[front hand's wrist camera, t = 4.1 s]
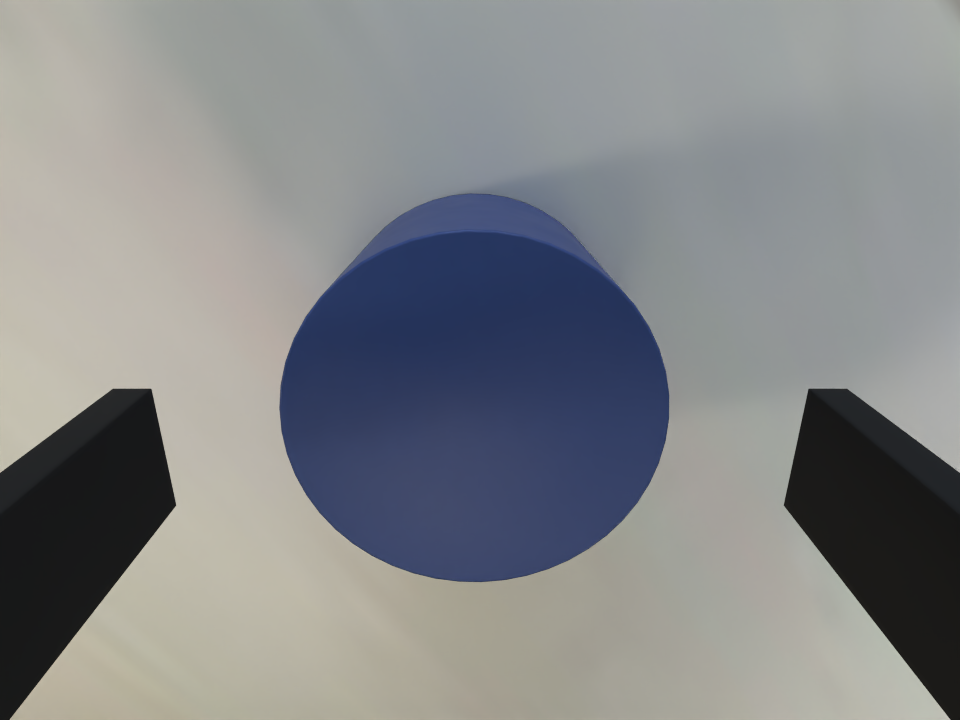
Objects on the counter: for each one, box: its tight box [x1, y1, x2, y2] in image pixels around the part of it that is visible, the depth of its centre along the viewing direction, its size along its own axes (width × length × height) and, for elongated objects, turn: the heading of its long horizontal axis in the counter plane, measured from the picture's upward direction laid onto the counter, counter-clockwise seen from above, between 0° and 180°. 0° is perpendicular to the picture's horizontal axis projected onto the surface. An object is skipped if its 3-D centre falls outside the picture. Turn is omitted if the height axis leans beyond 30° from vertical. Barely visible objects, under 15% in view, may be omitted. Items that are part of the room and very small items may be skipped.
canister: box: [280, 194, 669, 582], centre depth 18 cm, size 9×9×7 cm
